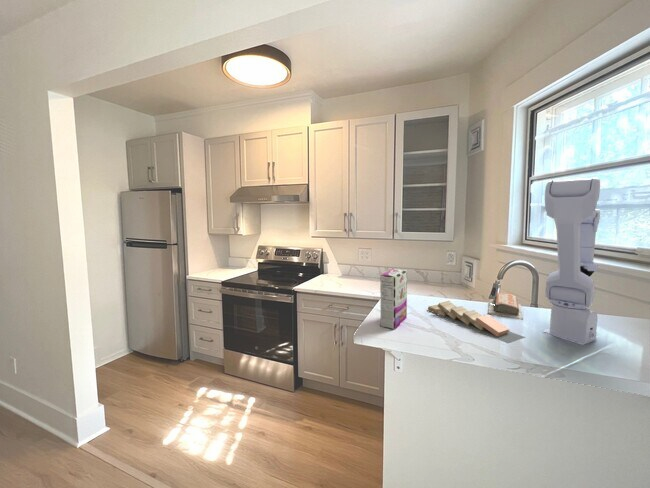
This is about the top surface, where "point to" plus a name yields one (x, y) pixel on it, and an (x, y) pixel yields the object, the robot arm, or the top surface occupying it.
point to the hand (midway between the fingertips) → (578, 289)
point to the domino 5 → (492, 325)
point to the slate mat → (505, 338)
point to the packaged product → (505, 306)
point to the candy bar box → (393, 298)
